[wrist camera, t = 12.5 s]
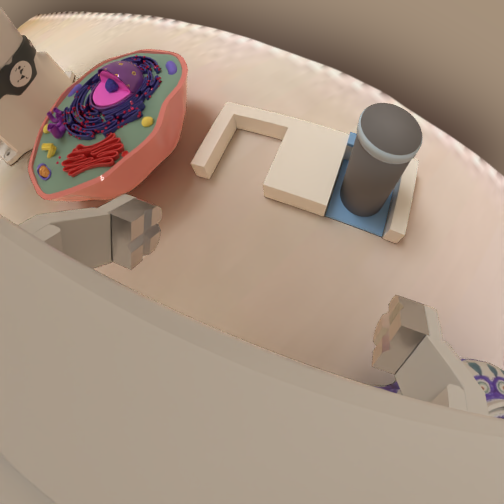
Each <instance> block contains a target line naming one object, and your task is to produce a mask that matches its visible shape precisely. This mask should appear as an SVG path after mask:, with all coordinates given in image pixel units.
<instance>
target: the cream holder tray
mask: <svg viewBox="0 0 504 504" xmlns="http://www.w3.org/2000/svg"><path fill="white" fill-rule="evenodd" d="M237 128H238V129H242V130H246V131H250V132H254V133H258V134H262V135H266V136H269V137H273V138H277V139H280V140H282V143H281V145H280V147H279V149H278V152H277V154H276V156H275V158H274V160H273V163H272V165H271V167H270V169H269V172H268V174H267V176H266V178H265V181H264V183H263V190H264V196H265V197H267V198H270V199H273V200H276V201H279V202H282V203H285V204H288V205H291V206H294V207H297V208H300V209H303V210H306V211H309V212H312V213H314V214H317V215H320V216H323V217H324V214H325V211H326V208H327V205H328V203H329V200H330V197H331V194H332V191H333V188H334V185H335V182H336V179H337V176H338V172H339V169H340V166H341V163H342V160H343V159H344V160H343V163H342V166H341V169H340V172H339V176H338V179H337V182H336V185H335V188H334V191H333V194H332V197H331V200H330V203H329V206H328V209H327V212H326V214H325V216H326V217H329V218H332V219H334V220H337V221H340V222H343V223H345V224H348V225H351V226H354V227H356V228H359V229H362V230H364V231H367V232H370V233H372V234H375V235H377V236H380V237H382V235H383V237H382V238H383V239H385V240H388V241H390V242H393V243H395V244H396V243H397V242H398V241H400V240H401V239H402V238H403V237H404V236H405V233H406V228H407V224H408V219H409V214H410V209H411V204H412V199H413V194H414V188H415V182H416V176H417V170H418V163H419V160H417V159H414V158H413V159H412V160H411V161H410V163H409V164H408V166H407V168H406V169H405V171H404V173H403V174H402V176H401V177H400V179H399V181H398V182H397V184H396V186H395V187H394V192H393V190H392V192H391V194H390V195H389V197H388V198H387V200H386V202H385V203H384V205H383V206H382V208H381V209H380V211H379V212H377V213H376V214H374V215H372V216H368V217H361V216H357V215H355V214H353V213H351V212H350V211H348V210H347V209H346V208H345V206H344V205H343V203H342V201H341V198H340V189H341V186H342V182H343V179H344V176H345V173H346V169H347V166H348V163H349V159H350V156H351V152H352V149H353V146H354V142H355V139H356V135H357V134H355V133H352V132H350V134H348V133H345V132H342V131H338V130H335V129H332V128H329V127H326V126H322V125H319V124H316V123H312V122H309V121H305V120H302V119H298V118H294V117H291V116H287V115H283V114H279V113H275V112H271V111H267V110H263V109H259V108H254V107H250V106H245V105H241V104H236V103H231V102H226V103H225V105H224V107H223V108H222V110H221V112H220V113H219V115H218V117H217V118H216V120H215V122H214V123H213V125H212V127H211V128H210V130H209V132H208V133H207V135H206V137H205V139H204V140H203V142H202V144H201V146H200V147H199V149H198V151H197V153H196V154H195V156H194V158H193V160H192V162H191V165H192V167H193V169H194V171H195V173H196V175H197V176H200V177H203V178H206V179H210V178H211V176H212V174H213V172H214V170H215V168H216V166H217V164H218V162H219V160H220V158H221V157H222V155H223V153H224V151H225V149H226V147H227V145H228V143H229V142H230V140H231V138H232V136H233V134H234V132H235V131H236V129H237ZM392 194H393V196H392ZM391 198H392V201H391ZM390 202H391V205H390ZM389 207H390V209H389ZM388 211H389V213H388ZM387 215H388V218H387ZM386 219H387V222H386ZM385 223H386V226H385ZM384 227H385V229H384ZM383 231H384V233H383Z"/></svg>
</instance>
